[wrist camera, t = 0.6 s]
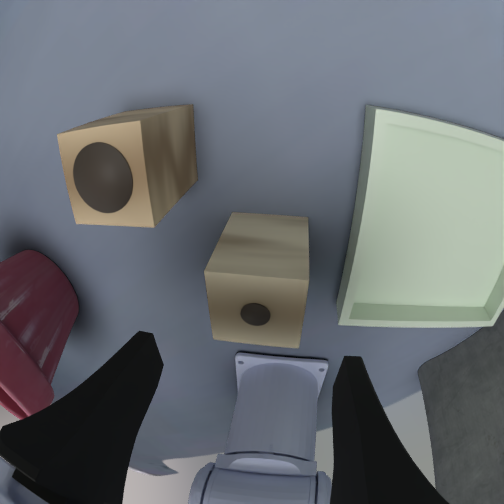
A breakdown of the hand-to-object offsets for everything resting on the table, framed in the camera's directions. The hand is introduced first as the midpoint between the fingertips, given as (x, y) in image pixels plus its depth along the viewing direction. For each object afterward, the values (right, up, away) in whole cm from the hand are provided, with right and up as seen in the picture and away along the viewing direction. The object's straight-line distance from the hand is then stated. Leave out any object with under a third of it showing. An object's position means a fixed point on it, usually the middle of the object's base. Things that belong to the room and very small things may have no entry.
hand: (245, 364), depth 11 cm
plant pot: (-21, +1, +15) cm, 26 cm away
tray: (+13, +6, +5) cm, 15 cm away
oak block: (-5, +10, +6) cm, 13 cm away
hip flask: (+22, -3, +10) cm, 24 cm away
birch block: (+1, +4, +8) cm, 9 cm away
